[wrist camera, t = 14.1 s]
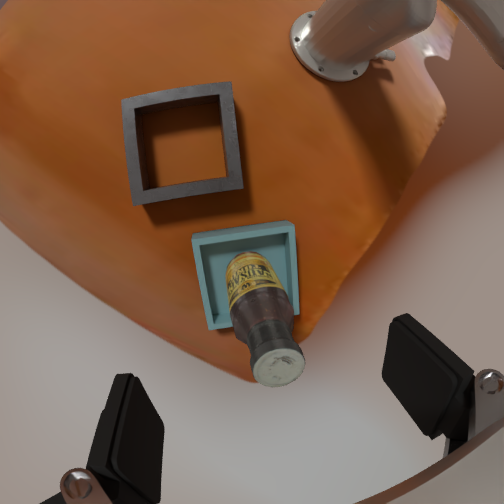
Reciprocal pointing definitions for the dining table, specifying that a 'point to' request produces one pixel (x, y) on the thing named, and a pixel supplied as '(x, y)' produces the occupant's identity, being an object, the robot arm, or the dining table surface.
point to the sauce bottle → (263, 319)
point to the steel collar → (169, 100)
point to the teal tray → (235, 242)
